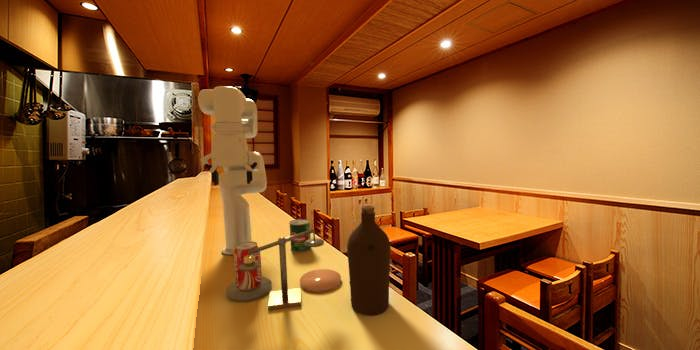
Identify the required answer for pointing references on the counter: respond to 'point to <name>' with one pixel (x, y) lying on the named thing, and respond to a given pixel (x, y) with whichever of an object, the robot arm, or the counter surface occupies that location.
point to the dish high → (320, 280)
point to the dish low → (249, 291)
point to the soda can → (246, 278)
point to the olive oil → (369, 265)
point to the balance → (285, 295)
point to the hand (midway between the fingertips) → (233, 183)
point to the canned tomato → (297, 228)
